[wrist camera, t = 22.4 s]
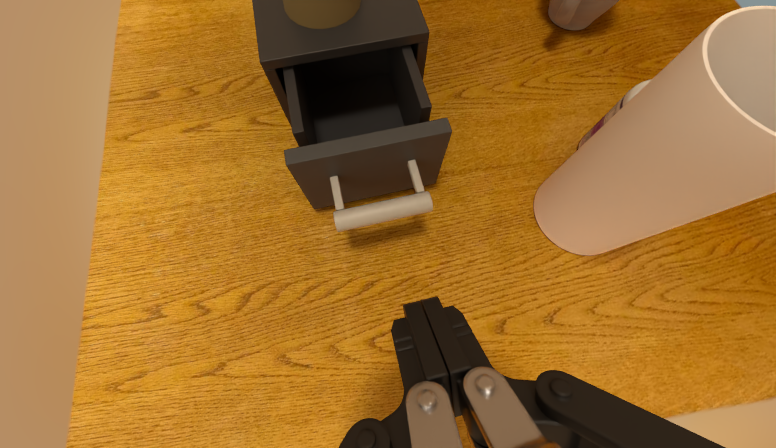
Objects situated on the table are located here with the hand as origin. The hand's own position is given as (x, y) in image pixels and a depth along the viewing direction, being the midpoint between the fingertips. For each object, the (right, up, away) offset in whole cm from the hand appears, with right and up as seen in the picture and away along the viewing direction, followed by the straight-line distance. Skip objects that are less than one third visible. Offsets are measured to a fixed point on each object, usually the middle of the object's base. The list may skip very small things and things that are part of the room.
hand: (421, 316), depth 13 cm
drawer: (-4, +11, +16) cm, 20 cm away
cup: (+16, +5, +15) cm, 23 cm away
